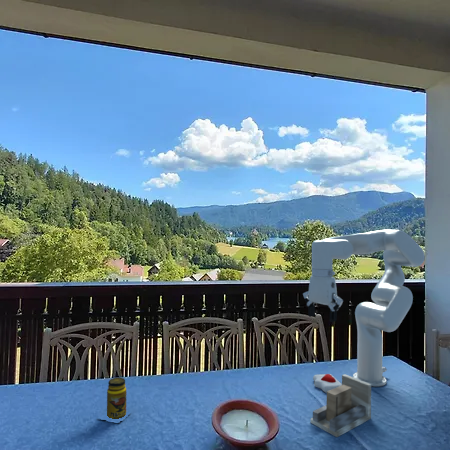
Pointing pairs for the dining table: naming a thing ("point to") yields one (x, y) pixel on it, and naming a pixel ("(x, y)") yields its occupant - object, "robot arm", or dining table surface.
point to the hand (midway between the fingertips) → (322, 318)
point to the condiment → (116, 398)
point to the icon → (326, 382)
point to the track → (355, 401)
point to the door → (338, 401)
